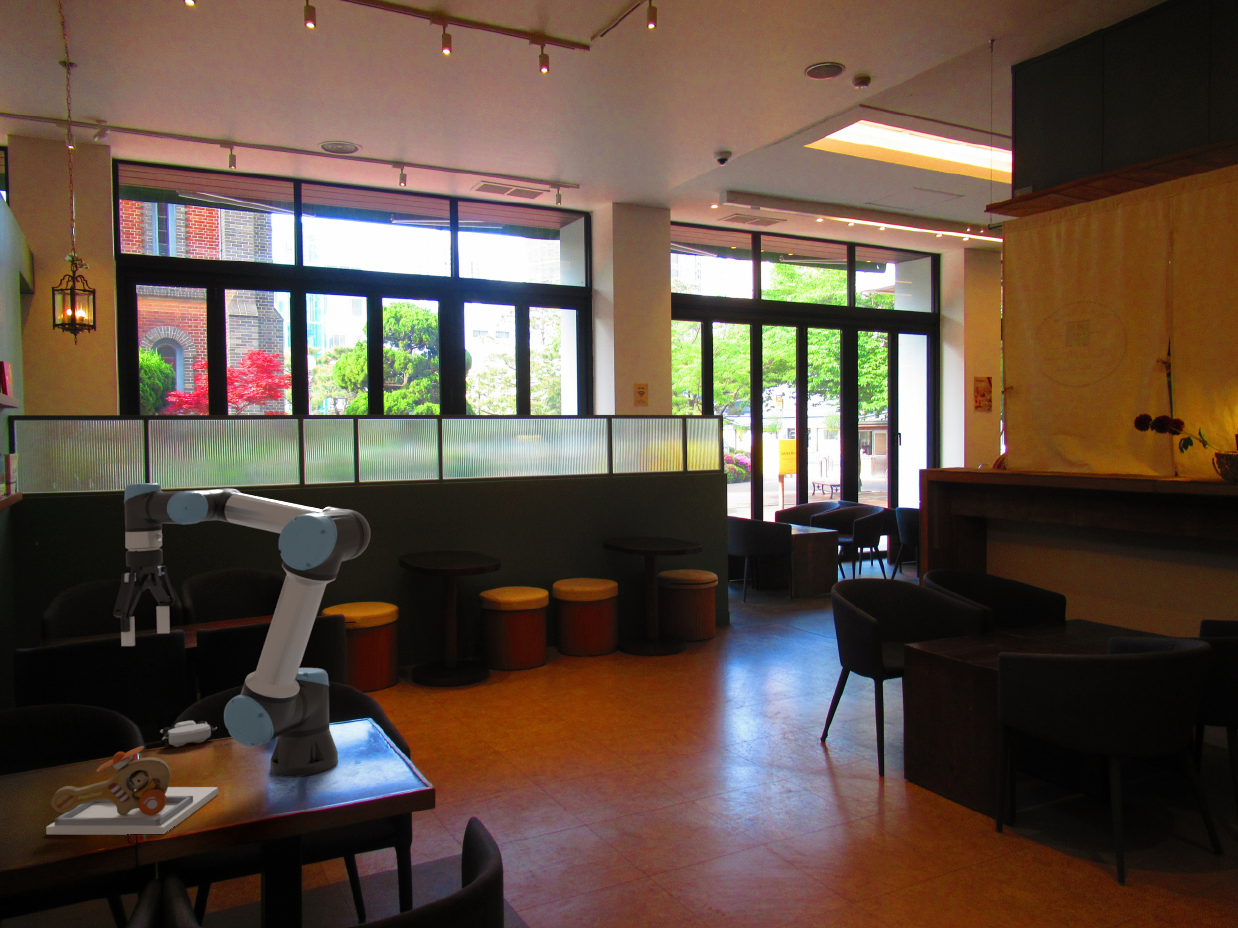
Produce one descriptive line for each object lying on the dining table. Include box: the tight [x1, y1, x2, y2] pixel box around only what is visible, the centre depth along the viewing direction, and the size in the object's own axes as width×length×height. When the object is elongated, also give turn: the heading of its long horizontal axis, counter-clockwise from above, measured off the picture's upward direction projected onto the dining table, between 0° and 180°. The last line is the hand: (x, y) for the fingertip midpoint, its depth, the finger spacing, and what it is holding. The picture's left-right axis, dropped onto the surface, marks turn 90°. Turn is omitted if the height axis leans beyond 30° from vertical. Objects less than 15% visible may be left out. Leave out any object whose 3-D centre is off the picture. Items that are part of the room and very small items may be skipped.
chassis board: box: [45, 786, 219, 836], centre depth 175 cm, size 24×20×3 cm
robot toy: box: [159, 720, 218, 748], centre depth 222 cm, size 12×4×15 cm
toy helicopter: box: [50, 745, 171, 815], centre depth 170 cm, size 8×21×14 cm, turn 115°
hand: (146, 639), depth 197 cm, fingers open, 13 cm apart
